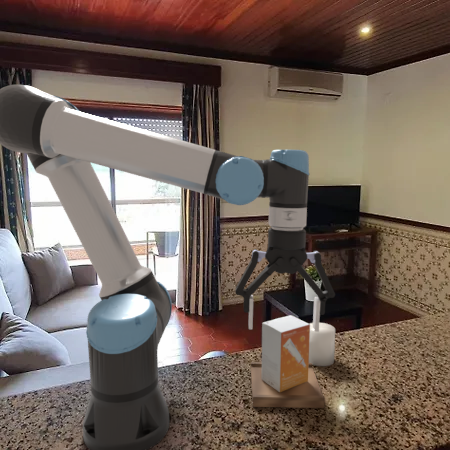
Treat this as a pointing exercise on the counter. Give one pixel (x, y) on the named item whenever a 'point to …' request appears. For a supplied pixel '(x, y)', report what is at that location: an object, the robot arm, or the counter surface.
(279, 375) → the small box
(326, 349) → the white cylinder
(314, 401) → the walnut board
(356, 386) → the counter surface
